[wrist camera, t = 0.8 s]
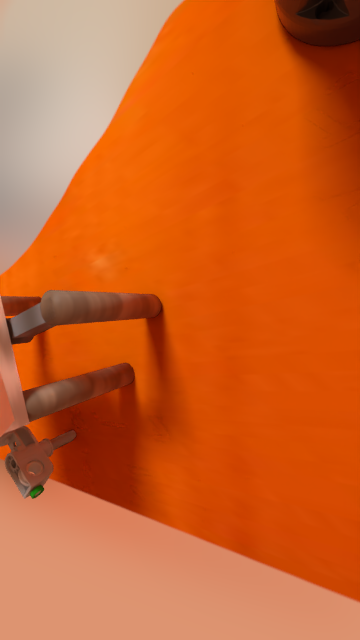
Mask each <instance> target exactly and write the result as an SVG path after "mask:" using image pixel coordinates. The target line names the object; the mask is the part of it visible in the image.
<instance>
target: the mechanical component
mask: <svg viewBox="0 0 360 640" xmlns="http://www.w3.org/2000/svg"><path fill="white" fill-rule="evenodd" d="M75 437H76V432H75V431H74V430H71V431H69V432H66V433H64V434H62V435H60V436H58V437H56V438H54V439H51V440H49V439H43V440H42V441H41V442H39V443H38V441H37V440H36V438H35V437H34V435H33V434H32V432H31V431H30V429H29V428H28V427H26V426H22V427H19V428H17V429H14V430H12V431H9V432H7V433H4V434H3V435H2V436H1V437H0V447H1V446H4V445H7V444H8V445H9V447H10V449H11V450H12V451H11V453H9V454H7V456H6V458H5V466H6V469H7V471H8V473H9V474H10V475H11V477H12V479H13V480H14V482H15V484H16V485H17V487H18V489H19V491H20V492H21V494H22V495H23V497H24V498H26V497H28V496H31V497H32V498H36V497H37V496H38V495H40V494H41V493H42V492H43V491H44V488H43V485H44V484H45V483H46V481H47V480H48V478H49V476H50V475H51V473H52V472H53V464H52V462H51V461H50V459H49V458H48V457H49V456H51V455H52V454H53V450H55V449H57V448H59V447H61V446H63V445H65V444H67V443H69V442H71V441H73V440H74V438H75ZM15 442H16V445H15ZM30 472H33V473H35V474H31V473H30Z"/></svg>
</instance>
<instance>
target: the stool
mask: <svg viewBox="0 0 360 640" xmlns="http://www.w3.org/2000/svg"><path fill="white" fill-rule="evenodd" d="M41 299H42V298H40V297H10V296H0V372H1V375H2V379H3V382H4V386H5V389H6V392H7V396H8V399H9V403H10V406H11V409H12V413H13V416H14V419H15V420H14V422H13V423H12V424H11V425H10V426H9V428H8V429H7V430H6V431H5V432H4V433H7V432H9V431H12V430H14V429H17V428H19V427H22V426H25V425H27V424H30V423H29V422H31V421H34V420H36V419H39V418H41V417H44V416H47V415H49V414H52V413H55V412H57V411H60V410H62V409H65V408H68V407H70V406H73V405H76V404H78V403H81V402H83V401H86V400H89V399H91V398H94V397H96V396H99V395H102V394H104V393H107V392H110V391H112V390H115V389H117V388H120V387H123V386H125V385H128V384H130V383H132V381H133V380H134V370H133V368H132V367H131V366H130V365H129V364H127V363H123V364H119V365H115V366H112V367H108V368H104V369H101V370H97V371H94V372H90V373H86V374H83V375H79V376H76V377H72V378H68V379H65V380H61V381H58V382H54V383H50V384H47V385H43V386H39V387H36V388H32V389H29V390H25V391H22V388H21V384H20V379H19V375H18V371H17V366H16V362H15V358H14V353H13V349H12V344H11V340H10V336H9V331H8V327H7V323H6V318H5V316H16V315H19V314H20V313H22V312H24V311H26V310H28V309H30V308H31V307H33V306H35V305H37V304H39V303H41Z"/></svg>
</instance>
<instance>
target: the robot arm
mask: <svg viewBox="0 0 360 640" xmlns="http://www.w3.org/2000/svg"><path fill="white" fill-rule="evenodd" d="M274 1H275V5H276V10H277V13H278V16H279V19H280V21H281V23H282V24H283V26H284V27H285V29H286V30H287V31H288V32H289V33H290V34H291V35H292V36H294V37H295V38H297V39H298V40H300V41H303V42H305V43H308V44H312V45H318V46H333V45H341V44H346V43H350V42H353V41H357V40H360V0H274ZM14 420H15V419H14V416H13V413H12V409H11V406H10V403H9V399H8V396H7V392H6V389H5V386H4V382H3V379H2V375H1V372H0V437H1V436H2V435H3V434H4V432H5V431H6V430H7V429H8V428H9V426H10V425H11V424H12V423H13V422H14Z"/></svg>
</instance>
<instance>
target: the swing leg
mask: <svg viewBox="0 0 360 640" xmlns="http://www.w3.org/2000/svg"><path fill="white" fill-rule="evenodd" d="M160 310H161V302H160V300H159V298H158V297H157V296H155V295H153V294H131V293H107V292H83V291H59V290H49V291H47V292H46V293H45V294H44V295H43V297H42V299H41V303H39V304H37V305H35V306H33V307H31V308H30V309H28V310H26V311H24V312H22V313H20V314H19V315H17V316H15V317H13V318H7V319H6V323H7V327H8V331H9V336H10V340H11V344H20V343H28V342H30V341H31V340H32V339H33V336H35V335H37V334H39V333H41V332H43V331H46V330H48V329H50V328H52V327H54V326H56V325H67V324H79V323H92V322H104V321H117V320H129V319H142V318H153V317H156V316H157V315H158V314H159V313H160Z"/></svg>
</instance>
